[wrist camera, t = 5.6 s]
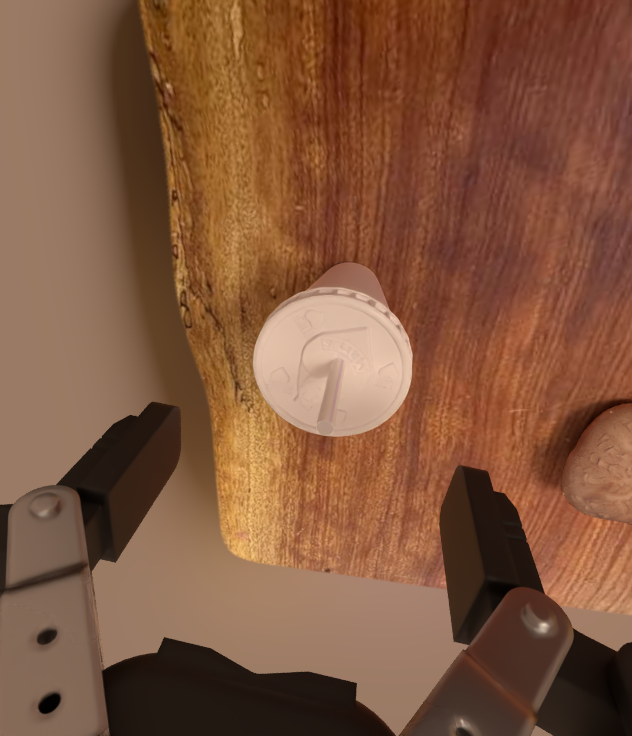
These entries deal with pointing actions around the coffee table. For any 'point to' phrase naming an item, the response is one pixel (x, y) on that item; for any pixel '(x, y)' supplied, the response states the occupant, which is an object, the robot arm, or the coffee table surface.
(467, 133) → the coffee table surface
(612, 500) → the mushroom
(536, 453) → the coffee table surface
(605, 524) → the coffee table surface
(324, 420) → the smoothie
